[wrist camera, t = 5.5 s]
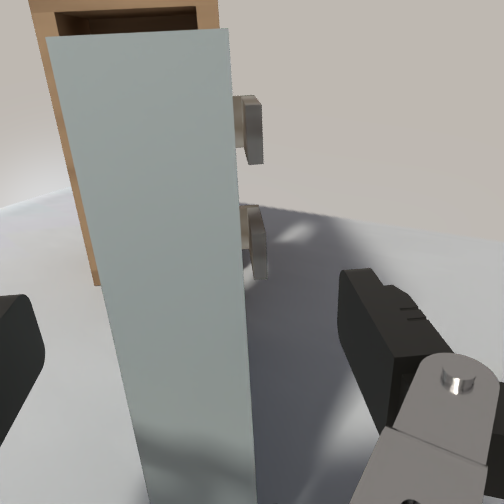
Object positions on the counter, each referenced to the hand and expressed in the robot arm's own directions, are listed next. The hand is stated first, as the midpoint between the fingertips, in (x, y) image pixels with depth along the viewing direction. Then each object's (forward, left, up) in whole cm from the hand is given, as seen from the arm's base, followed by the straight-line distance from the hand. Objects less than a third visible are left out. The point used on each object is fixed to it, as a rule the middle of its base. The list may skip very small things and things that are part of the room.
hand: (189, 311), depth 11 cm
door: (-3, -4, -9) cm, 10 cm away
